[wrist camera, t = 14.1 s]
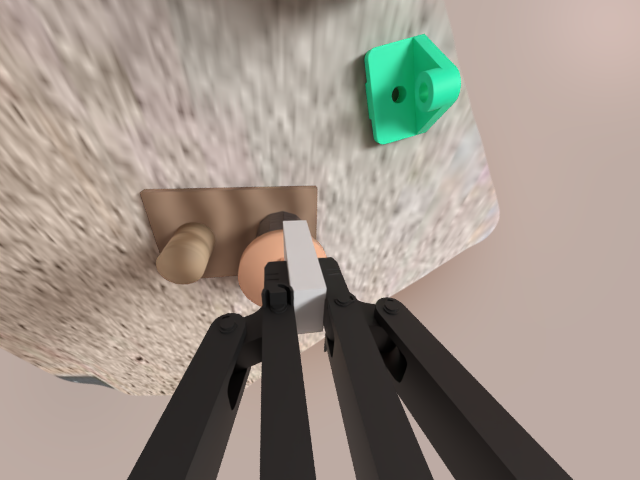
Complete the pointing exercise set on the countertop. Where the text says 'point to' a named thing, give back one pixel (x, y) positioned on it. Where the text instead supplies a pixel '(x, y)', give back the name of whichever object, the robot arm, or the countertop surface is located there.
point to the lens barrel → (275, 222)
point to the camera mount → (408, 87)
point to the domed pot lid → (263, 262)
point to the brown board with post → (216, 225)
